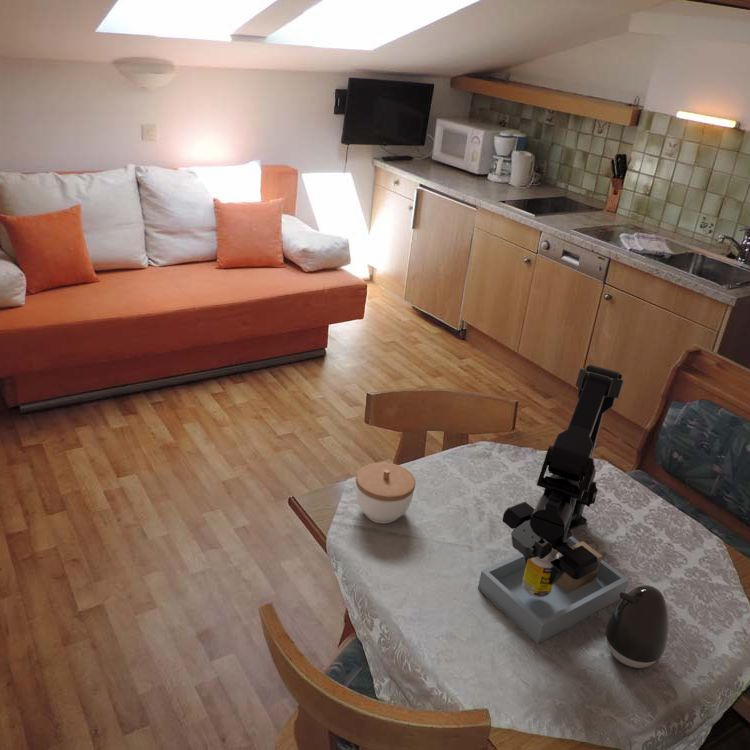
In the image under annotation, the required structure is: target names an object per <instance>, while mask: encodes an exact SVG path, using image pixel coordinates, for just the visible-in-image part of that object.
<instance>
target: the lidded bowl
mask: <svg viewBox="0 0 750 750" xmlns="http://www.w3.org/2000/svg"><path fill="white" fill-rule="evenodd" d="M415 489H416V479H415V477H414V475H413V474H412V472H410V470H408V469H407V468H405V467H403V466H401V465H399V464H397V463H392V462H385V461H381V462H372V463H369V464H366V465H364V466H363V467H360V468H359V470H357V473H356V477H355V497H356V502H357V504H358V507H359V509H360V510H361V512H362V513H363V514H364V515H365V516H366V517H367V519H369V521H372V522H374V523H377V524H391V523H392V522H395V521H396V520H397V519H400V518H401V517H402V516H403V515H404V514H405V513H406V512H407V511H408V510H409V507H410V505H411V503H412V501H413V496H414V491H415Z"/></svg>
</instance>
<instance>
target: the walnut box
mask: <svg viewBox="0 0 750 750" xmlns="http://www.w3.org/2000/svg"><path fill="white" fill-rule="evenodd" d="M579 542H580V543H578V544H576V545H574V546H576V547H580V546H583V547H585V548H586V549H587V550H589V551H590V552H591V553H593V554H594V555H595V556H597V558H598V559H599V564H598V567H597V570H595V571H593V572H591V573H589V574H587V575H585V576H584V577H582V578H580V579H578V580H577V579H573V578H571V577H570V576H569V575H568V574H566V573H564V574H563V575H562V576H561V577H560V578H559V579H558V580H557V581H556V582H555V583H556V584H557V585H559V586H560V587H561V588H562V589H563V590H565V591H566V592H567V593H570V592H572V591H574V590H576V589H578V588H580V587H582V586H584V585H586V584H587V583H589V582H591V581H593V580H595V579H596V576H597V572H598V569H599V566H600V562H601V559H602V560H603V555H602V554H601V553H599V552H598V551H596V550H595V549H594V548H592V547H591V546H590V545H589V544H587V543H586V542H585V541H584V540H582V541H579ZM557 554H558V556H559V555H560V552H559V553H557ZM559 557H560V556H559Z"/></svg>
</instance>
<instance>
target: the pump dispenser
mask: <svg viewBox="0 0 750 750" xmlns="http://www.w3.org/2000/svg"><path fill="white" fill-rule="evenodd" d="M619 596H620V598H621V600H620V602H619V603H618V604H617V606H615V608H614V610H613V611H612V613H611V615H610V617H609V619H608V621H607V622H606V625H605V629H604V630H605V631H604V633H605V637H606V638H605V639H606V643H607V646H608V649H609V651H610V653H611V654H612V655H613V657H614V658H615V659H616V660H617V661H619V662H620V663H622V664H623V665H626V666H628V667H631V668H636V669H637V668H638V669H642V668H647V667H649V666H651V665H653V664H654V663H656V662H657V661H658V660H660V659H661V658H662V657H663V656H664V654H665V651H666V648H667V643H668V637H669V629H670V626H669V625H670V622H669V621H670V620H669V612H668V605H667V602H666V599H665V597H664V594H663V593H662V592H661V591H660V590H659V589H658V588H656V587H655V586H652V585H648V584H642V585H640V586H637V587H635V588H633V589H632V590H630V591H629V592H628V593H627V592H625V593H624V592H621V593H620V594H619Z"/></svg>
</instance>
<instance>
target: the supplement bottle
mask: <svg viewBox="0 0 750 750" xmlns="http://www.w3.org/2000/svg"><path fill="white" fill-rule="evenodd" d="M558 558H559V556H558V554H557V550H556V549H555V550H553V549H552V551H551V553H549V554H548V555H547V556H546V557H544V558H543V559H540V558H539V557H535V558H531V559H528V560H527V564H526V568H525V572H524V577H523V581H522V586H523V589H524V590H525V591H526V592H527V593H528V594H530V595H532V596H534V597H546V596H547V595H549V594H550V592H551V589H552V586H553V584H552V585H550V584H549V581H550V576H551V572H552V569H553V565H552V564H551V563H550V562H551V561H554V560H556V559H558Z"/></svg>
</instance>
